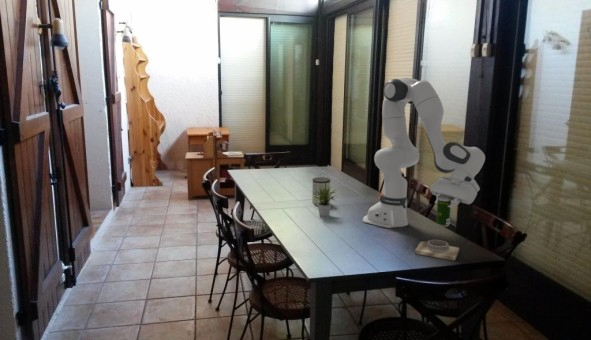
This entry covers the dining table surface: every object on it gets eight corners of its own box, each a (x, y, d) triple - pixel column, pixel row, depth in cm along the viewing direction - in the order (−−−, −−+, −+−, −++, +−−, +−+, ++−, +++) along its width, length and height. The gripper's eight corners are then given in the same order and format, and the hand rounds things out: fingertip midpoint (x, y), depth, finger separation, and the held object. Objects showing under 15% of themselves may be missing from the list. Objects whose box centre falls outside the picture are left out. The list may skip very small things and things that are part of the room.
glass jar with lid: (312, 200, 276) (313, 177, 273) (330, 201, 275) (330, 177, 272) (311, 205, 266) (311, 181, 263) (329, 205, 265) (330, 181, 262)
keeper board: (415, 253, 196) (415, 244, 196) (421, 244, 207) (421, 235, 206) (454, 260, 189) (455, 251, 188) (459, 250, 200) (459, 242, 199)
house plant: (336, 221, 238) (337, 189, 235) (309, 219, 241) (310, 188, 237) (339, 213, 252) (340, 183, 248) (314, 211, 254) (314, 182, 251)
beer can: (451, 224, 198) (453, 197, 196) (445, 227, 195) (447, 199, 192) (439, 222, 202) (441, 195, 200) (433, 224, 198) (435, 197, 196)
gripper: (437, 171, 206) (420, 196, 203) (477, 180, 190) (459, 207, 186) (443, 180, 210) (427, 204, 206) (483, 189, 193) (466, 216, 190)
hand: (443, 206), depth 196 cm, fingers closed on beer can, 5 cm apart
